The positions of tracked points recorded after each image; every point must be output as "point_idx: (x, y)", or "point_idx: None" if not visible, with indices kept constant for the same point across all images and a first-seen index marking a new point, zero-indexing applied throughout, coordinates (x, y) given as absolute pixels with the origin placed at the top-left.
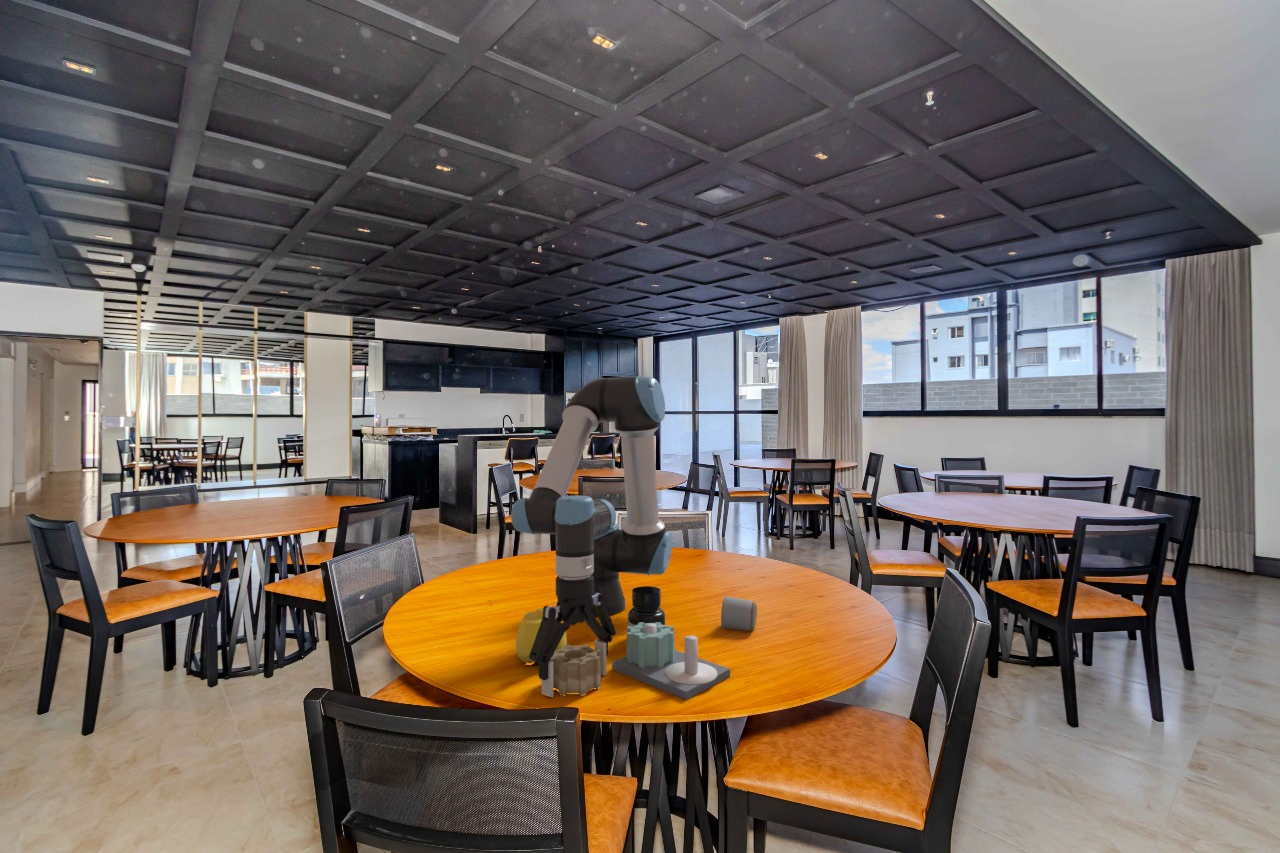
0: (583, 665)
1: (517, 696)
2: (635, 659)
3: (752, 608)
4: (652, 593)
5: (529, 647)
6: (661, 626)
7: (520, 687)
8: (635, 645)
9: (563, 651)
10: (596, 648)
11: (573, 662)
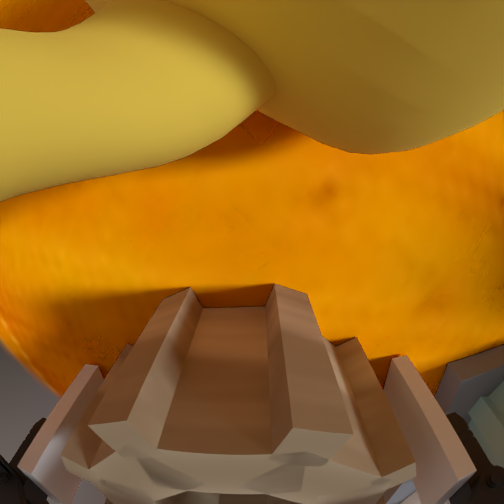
0: None
1: (20, 303)
2: (477, 428)
3: None
4: None
5: (95, 6)
6: None
7: (38, 245)
8: (497, 462)
9: (190, 484)
10: (435, 454)
11: None
